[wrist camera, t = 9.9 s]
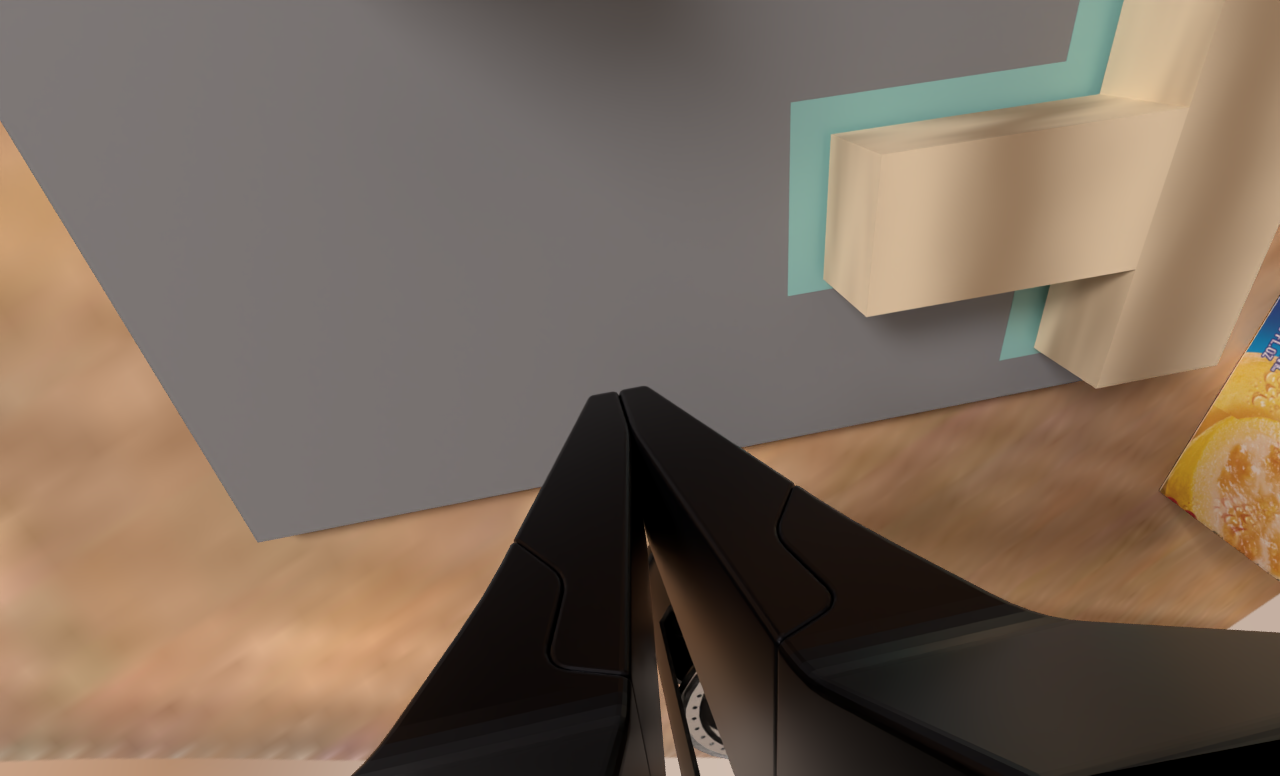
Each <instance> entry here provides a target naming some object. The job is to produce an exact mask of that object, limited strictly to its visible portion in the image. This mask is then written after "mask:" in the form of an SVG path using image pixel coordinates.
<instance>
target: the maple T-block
mask: <svg viewBox="0 0 1280 776" xmlns="http://www.w3.org/2000/svg"><path fill="white" fill-rule="evenodd" d="M1279 224H1280V0H1124V2H1123V5H1122V9H1121V13H1120V17H1119V21H1118V25H1117V29H1116V32H1115V36H1114V40H1113V44H1112V48H1111V52H1110V56H1109V60H1108V63H1107V67H1106V71H1105V75H1104V79H1103V83H1102V87H1101V90H1100V94H1096V95H1090V96H1083V97H1076V98H1070V99H1063V100H1056V101H1050V102H1043V103H1036V104H1030V105H1023V106H1016V107H1010V108H1003V109H996V110H990V111H983V112H976V113H970V114H963V115H956V116H950V117H943V118H936V119H930V120H923V121H916V122H910V123H903V124H896V125H890V126H883V127H876V128H870V129H863V130H856V131H850V132H843V133H836V134H831V141H830V160H829V179H828V198H827V217H826V236H825V255H824V274H823V279H824V280H825V281H826V282H827V283H828V284H829V285H830V286H832V287H833V288H834V289H835V290H836V291H837V292H838V293H840V294H841V295H842V296H843V297H844V298H845V299H846V300H847V301H849V302H850V303H851V304H852V305H853V306H854V307H855V308H857V309H858V310H859V311H860V312H861V313H862V314H863V315H865V316H866V317H870V316H876V315H881V314H887V313H893V312H898V311H904V310H909V309H915V308H921V307H926V306H932V305H938V304H943V303H949V302H955V301H960V300H966V299H972V298H977V297H983V296H988V295H994V294H1000V293H1005V292H1011V291H1017V290H1022V289H1028V288H1034V287H1039V286H1045V285H1050V287H1049V291H1048V295H1047V299H1046V303H1045V307H1044V310H1043V314H1042V318H1041V322H1040V326H1039V330H1038V334H1037V337H1036V341H1035V345H1034V348H1035V349H1036V350H1038V351H1039V352H1041V353H1042V354H1044V355H1045V356H1047V357H1049V358H1050V359H1052V360H1053V361H1055V362H1056V363H1058V364H1059V365H1061V366H1062V367H1064V368H1065V369H1067V370H1068V371H1070V372H1071V373H1073V374H1074V375H1076V376H1077V377H1079V378H1081V379H1082V380H1084V381H1085V382H1087V383H1088V384H1090V385H1091V386H1093V387H1094V388H1096V389H1097V388H1102V387H1108V386H1113V385H1118V384H1123V383H1128V382H1133V381H1138V380H1144V379H1149V378H1154V377H1159V376H1164V375H1169V374H1174V373H1180V372H1185V371H1190V370H1195V369H1200V368H1205V367H1210V366H1216V365H1217V364H1218V362H1219V359H1220V357H1221V355H1222V353H1223V350H1224V348H1225V346H1226V344H1227V341H1228V339H1229V337H1230V335H1231V332H1232V330H1233V328H1234V326H1235V323H1236V321H1237V319H1238V317H1239V314H1240V312H1241V310H1242V308H1243V305H1244V303H1245V301H1246V299H1247V296H1248V294H1249V292H1250V290H1251V287H1252V285H1253V283H1254V281H1255V278H1256V276H1257V274H1258V271H1259V269H1260V267H1261V265H1262V262H1263V260H1264V258H1265V256H1266V253H1267V251H1268V249H1269V247H1270V244H1271V242H1272V240H1273V238H1274V235H1275V233H1276V231H1277V229H1278V226H1279Z"/></svg>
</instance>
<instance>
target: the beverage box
mask: <svg viewBox="0 0 1280 776" xmlns="http://www.w3.org/2000/svg"><path fill="white" fill-rule="evenodd" d="M1159 491H1160V492H1161V493H1162V494H1164V495H1165V496H1166V497H1168V498H1169V499H1170V500H1172V501H1173V502H1174V503H1176V504H1177V505H1178V506H1180V507H1181V508H1182V509H1184V510H1185V511H1186V512H1188V513H1189V514H1190V515H1192V516H1193V517H1194V518H1196V519H1197V520H1198V521H1200V522H1201V523H1202V524H1204V525H1205V526H1206V527H1208V528H1209V529H1210V530H1212V531H1213V532H1214V533H1216V534H1217V535H1218V536H1220V537H1221V538H1222V539H1224V540H1225V541H1226V542H1228V543H1229V544H1230V545H1232V546H1233V547H1234V548H1236V549H1237V550H1238V551H1240V552H1241V553H1242V554H1244V555H1245V556H1246V557H1248V558H1249V559H1250V560H1252V561H1253V562H1254V563H1256V564H1257V565H1258V566H1260V567H1261V568H1262V569H1263V570H1265V571H1266V572H1267V573H1269V574H1270V575H1271V576H1273V577H1274V578H1275V579H1277V580H1278V581H1279V582H1280V296H1279V298H1278V299H1277V301H1276V302H1275V304H1274V306H1273V307H1272V309H1271V310H1270V312H1269V314H1268V315H1267V317H1266V319H1265V320H1264V322H1263V323H1262V325H1261V327H1260V328H1259V330H1258V331H1257V333H1256V335H1255V336H1254V338H1253V340H1252V341H1251V343H1250V344H1249V346H1248V348H1247V349H1246V351H1245V352H1244V354H1243V356H1242V357H1241V359H1240V361H1239V362H1238V364H1237V365H1236V367H1235V369H1234V370H1233V372H1232V373H1231V375H1230V377H1229V378H1228V380H1227V382H1226V383H1225V385H1224V386H1223V388H1222V390H1221V391H1220V393H1219V394H1218V396H1217V398H1216V399H1215V401H1214V403H1213V404H1212V406H1211V407H1210V409H1209V411H1208V412H1207V414H1206V415H1205V417H1204V419H1203V420H1202V422H1201V424H1200V425H1199V427H1198V428H1197V430H1196V432H1195V433H1194V435H1193V436H1192V438H1191V440H1190V441H1189V443H1188V445H1187V446H1186V448H1185V449H1184V451H1183V453H1182V454H1181V456H1180V457H1179V459H1178V461H1177V462H1176V464H1175V466H1174V467H1173V469H1172V470H1171V472H1170V474H1169V475H1168V477H1167V478H1166V480H1165V482H1164V483H1163V485H1162V487H1161V488H1160V490H1159Z"/></svg>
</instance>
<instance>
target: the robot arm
mask: <svg viewBox="0 0 1280 776" xmlns="http://www.w3.org/2000/svg"><path fill="white" fill-rule="evenodd" d="M644 527H645V528H644ZM645 531H646V535H647V538H648V541H649V544H650V547H651V550H652V553H653V556H654V559H655V561H656V564H657V567H658V569H659V572H660V575H661V578H662V580H663V583H664V586H665V588H666V591H667V594H668V596H669V599H670V602H671V605H672V607H673V610H674V613H675V615H676V618H677V621H678V623H679V626H680V629H681V632H682V634H683V637H684V640H685V642H686V645H687V648H688V650H689V653H690V656H691V659H692V661H693V664H694V667H695V669H696V672H697V675H698V678H699V680H700V683H701V686H702V688H703V691H704V694H705V696H706V699H707V702H708V705H709V707H710V710H711V713H712V715H713V718H714V721H715V723H716V726H717V729H718V732H719V734H720V737H721V740H722V742H723V745H724V748H725V750H726V753H727V756H728V759H729V761H730V764H731V767H732V769H733V772H734V774H735V776H1280V633H1276V632H1259V631H1241V630H1226V629H1209V628H1192V627H1175V626H1158V625H1141V624H1124V623H1107V622H1091V621H1078V620H1069V619H1063V618H1058V617H1052V616H1048V615H1044V614H1041V613H1037V612H1034V611H1031V610H1028V609H1025V608H1023V607H1020V606H1018V605H1015V604H1012V603H1010V602H1008V601H1006V600H1004V599H1002V598H999V597H997V596H995V595H993V594H991V593H989V592H987V591H985V590H983V589H981V588H980V587H978V586H976V585H974V584H972V583H970V582H968V581H966V580H964V579H962V578H960V577H958V576H957V575H955V574H953V573H951V572H949V571H947V570H945V569H943V568H941V567H939V566H937V565H935V564H934V563H932V562H930V561H928V560H926V559H924V558H922V557H920V556H918V555H916V554H914V553H913V552H911V551H909V550H907V549H905V548H903V547H901V546H899V545H897V544H895V543H893V542H891V541H890V540H888V539H886V538H884V537H882V536H881V535H879V534H877V533H875V532H873V531H871V530H870V529H868V528H866V527H864V526H862V525H861V524H859V523H857V522H855V521H853V520H852V519H850V518H848V517H847V516H845V515H843V514H842V513H840V512H839V511H837V510H835V509H834V508H832V507H831V506H829V505H827V504H826V503H824V502H822V501H821V500H819V499H818V498H816V497H815V496H813V495H812V494H810V493H809V492H807V491H806V490H804V489H803V488H801V487H800V486H795V485H794V483H793V482H792V481H790V480H789V479H787V478H786V477H784V476H783V475H781V474H779V473H778V472H776V471H775V470H773V469H772V468H770V467H769V466H767V465H766V464H764V463H763V462H761V461H760V460H758V459H757V458H755V457H754V456H752V455H751V454H749V453H748V452H746V451H745V450H743V449H742V448H740V447H739V446H737V445H736V444H734V443H733V442H731V441H730V440H728V439H727V438H725V437H724V436H722V435H721V434H719V433H718V432H716V431H715V430H713V429H712V428H710V427H709V426H707V425H706V424H704V423H702V422H701V421H699V420H698V419H696V418H695V417H693V416H692V415H690V414H689V413H687V412H686V411H684V410H683V409H681V408H680V407H678V406H677V405H675V404H674V403H672V402H671V401H669V400H668V399H666V398H665V397H663V396H662V395H660V394H659V393H657V392H656V391H654V390H653V389H651V388H650V387H648V386H639V387H634V388H628V389H623V390H621V391H620V393H619V395H618V393H617V392H614V391H612V392H607V393H601V394H596V395H592V396H590V397H589V398H588V400H587V402H586V404H585V405H584V407H583V409H582V411H581V413H580V415H579V417H578V419H577V421H576V423H575V425H574V426H573V428H572V430H571V432H570V434H569V436H568V438H567V440H566V442H565V444H564V445H563V447H562V449H561V451H560V453H559V455H558V457H557V459H556V461H555V463H554V465H553V466H552V468H551V470H550V472H549V474H548V476H547V478H546V480H545V482H544V484H543V486H542V487H541V489H540V491H539V493H538V495H537V497H536V499H535V501H534V503H533V505H532V507H531V508H530V510H529V512H528V514H527V516H526V518H525V520H524V522H523V524H522V526H521V527H520V529H519V531H518V533H517V535H516V537H515V539H514V543H513V544H511V546H510V548H509V550H508V552H507V554H506V556H505V557H504V559H503V561H502V563H501V565H500V567H499V569H498V570H497V572H496V574H495V576H494V577H493V579H492V581H491V583H490V584H489V586H488V588H487V590H486V591H485V593H484V595H483V597H482V598H481V600H480V601H479V603H478V604H477V606H476V607H475V609H474V610H473V612H472V613H471V615H470V616H469V618H468V619H467V621H466V622H465V624H464V625H463V627H462V628H461V630H460V632H459V633H458V635H457V636H456V637H455V639H454V640H453V642H452V643H451V645H450V646H449V647H448V649H447V650H446V652H445V653H444V655H443V656H442V657H441V659H440V660H439V662H438V663H437V665H436V666H435V667H434V669H433V670H432V672H431V673H430V675H429V676H428V677H427V679H426V680H425V682H424V683H423V685H422V686H421V687H420V689H419V690H418V692H417V693H416V695H415V696H414V697H413V699H412V700H411V702H410V703H409V705H408V706H407V708H406V709H405V710H404V712H403V713H402V715H401V716H400V718H399V719H398V720H397V722H396V723H395V725H394V726H393V728H392V729H391V730H390V732H389V733H388V734H387V736H386V737H385V738H384V740H383V741H382V742H381V744H380V745H379V746H378V747H377V749H376V750H375V751H374V752H373V753H372V754H371V755H370V757H369V758H368V759H367V760H366V761H365V762H364V764H363V765H362V766H361V767H360V768H359V769H357V770H356V771H355V772H354V773H353V774H352V775H351V776H666V772H665V760H664V748H663V735H662V723H661V711H660V698H659V686H658V674H657V661H656V649H655V636H654V624H653V612H652V599H651V587H650V575H649V562H648V551H647V542H646V535H645Z"/></svg>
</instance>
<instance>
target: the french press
mask: <svg viewBox="0 0 1280 776" xmlns="http://www.w3.org/2000/svg"><path fill="white" fill-rule="evenodd" d="M647 551H648V562H649V575H650V587H651V599H652V612H653V624H654V636H655V649H656V660H657V665H658V669H659V674H660V679H661V683H662V688H663V692H664V697H665V702H666V706H667V711H668V716H669V720H670V725H671V729H672V734H673V739H674V743H675V748H676V753H677V757H678V762H679V766H680V771H681V776H700V773H699V769H698V765H697V761H696V756H695V752H694V748H693V746H694V747H695V748H697V749H698V750H700V751H702V752H704V753H707V754H709V755H712V756H716V757H721V758H725V759H728V756H727V753H726V750H725V748H724V745H723V742H722V740H721V737H720V734H719V732H718V729H717V726H716V723H715V721H714V718H713V715H712V713H711V710H710V707H709V705H708V702H707V699H706V696H705V694H704V691H703V688H702V686H701V683H700V680H699V678H698V675H697V672H696V669H695V667H694V664H693V661H692V659H691V656H690V653H689V650H688V648H687V645H686V642H685V640H684V637H683V634H682V632H681V629H680V626H679V623H678V621H677V618H676V615H675V613H674V610H673V607H672V605H671V602H670V599H669V596H668V594H667V591H666V588H665V586H664V583H663V580H662V578H661V575H660V572H659V569H658V567H657V564H656V561H655V559H654V556H653V553H652V550H651V547H650V545H649V546H648V548H647ZM678 684H681V685H680V687H679V686H678Z"/></svg>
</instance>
